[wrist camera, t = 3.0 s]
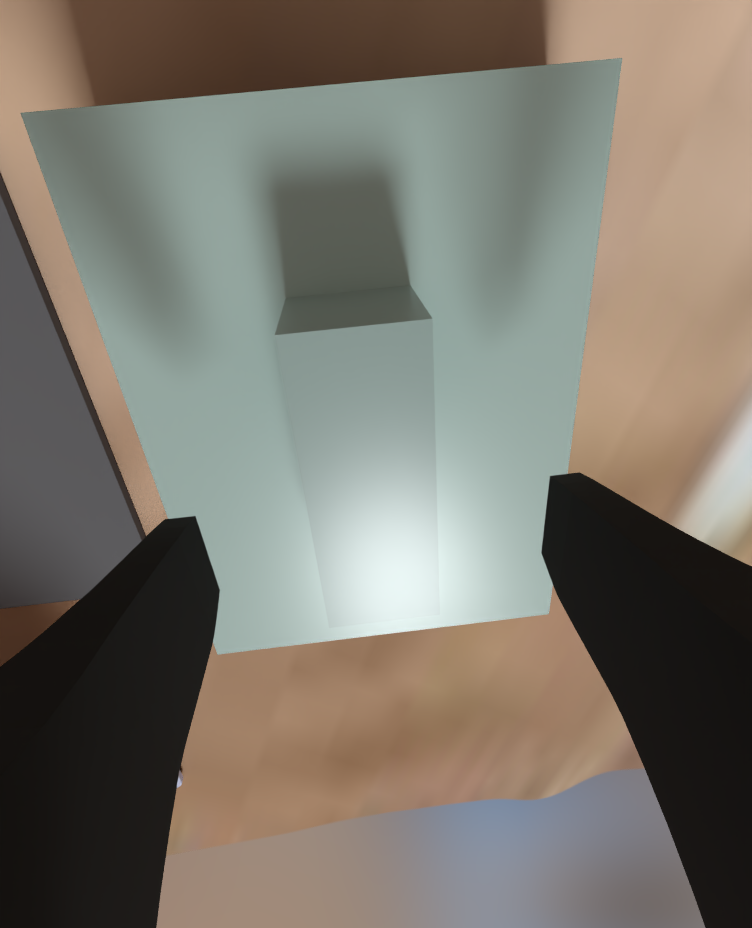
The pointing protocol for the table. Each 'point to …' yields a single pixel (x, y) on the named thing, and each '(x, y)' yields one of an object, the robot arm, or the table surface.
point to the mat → (50, 448)
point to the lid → (348, 330)
